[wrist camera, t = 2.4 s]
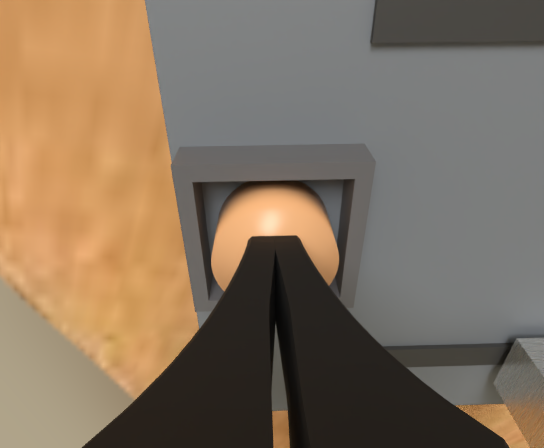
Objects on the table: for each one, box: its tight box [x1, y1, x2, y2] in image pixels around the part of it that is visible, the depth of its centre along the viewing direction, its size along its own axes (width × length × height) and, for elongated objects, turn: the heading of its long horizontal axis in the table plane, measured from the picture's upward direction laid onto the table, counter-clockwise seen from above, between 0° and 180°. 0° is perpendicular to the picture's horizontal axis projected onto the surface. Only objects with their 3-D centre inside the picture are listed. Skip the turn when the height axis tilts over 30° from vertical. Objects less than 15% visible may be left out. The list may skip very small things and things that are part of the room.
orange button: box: [211, 180, 339, 292], centre depth 11 cm, size 4×4×2 cm
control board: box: [145, 0, 544, 411], centre depth 13 cm, size 18×22×3 cm
